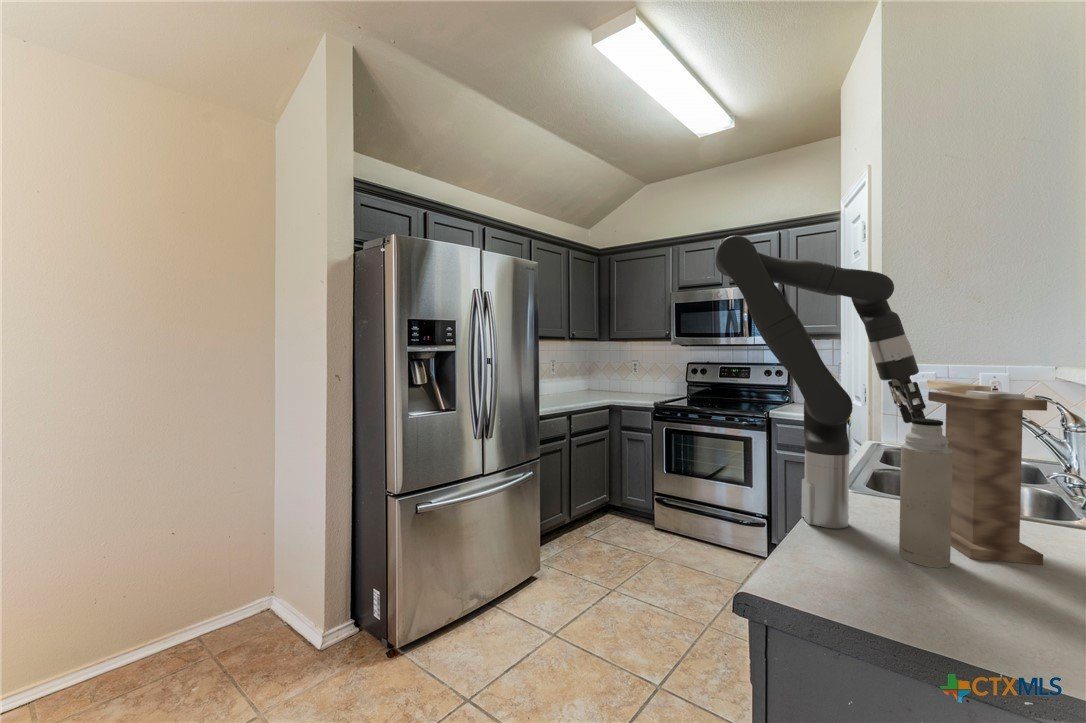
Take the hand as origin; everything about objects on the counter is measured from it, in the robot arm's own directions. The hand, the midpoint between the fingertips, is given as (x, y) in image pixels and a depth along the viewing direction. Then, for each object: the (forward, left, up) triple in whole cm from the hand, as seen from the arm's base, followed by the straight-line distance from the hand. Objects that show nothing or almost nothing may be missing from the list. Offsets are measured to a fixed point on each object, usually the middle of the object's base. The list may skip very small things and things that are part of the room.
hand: (915, 425), depth 110 cm
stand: (+9, -7, -24) cm, 27 cm away
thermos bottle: (-6, -17, -25) cm, 30 cm away
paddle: (+9, -1, +8) cm, 12 cm away
